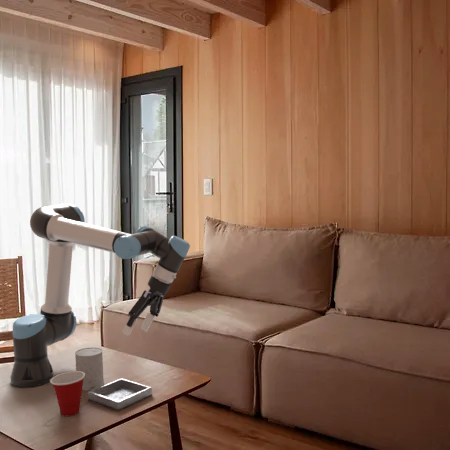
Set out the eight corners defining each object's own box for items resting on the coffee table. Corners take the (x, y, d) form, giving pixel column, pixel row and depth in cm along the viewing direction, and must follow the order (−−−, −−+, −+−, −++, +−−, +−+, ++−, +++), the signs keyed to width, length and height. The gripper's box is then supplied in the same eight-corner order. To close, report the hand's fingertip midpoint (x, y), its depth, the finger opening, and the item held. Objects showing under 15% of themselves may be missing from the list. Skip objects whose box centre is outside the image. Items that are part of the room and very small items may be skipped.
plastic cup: (56, 405, 187) (55, 370, 186) (90, 404, 187) (88, 369, 186) (47, 420, 176) (45, 383, 175) (82, 419, 177) (80, 381, 175)
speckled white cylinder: (97, 390, 199) (95, 356, 198) (72, 389, 201) (70, 355, 200) (108, 380, 208) (106, 348, 207) (83, 379, 210) (82, 347, 209)
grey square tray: (88, 400, 191) (87, 391, 191) (121, 386, 203) (121, 378, 202) (118, 411, 182) (118, 402, 181) (152, 395, 194) (151, 387, 193)
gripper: (155, 285, 185) (126, 342, 186) (184, 283, 208) (158, 333, 210) (137, 274, 187) (108, 330, 189) (167, 273, 211) (142, 323, 212)
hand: (134, 332), depth 199 cm, fingers open, 13 cm apart
